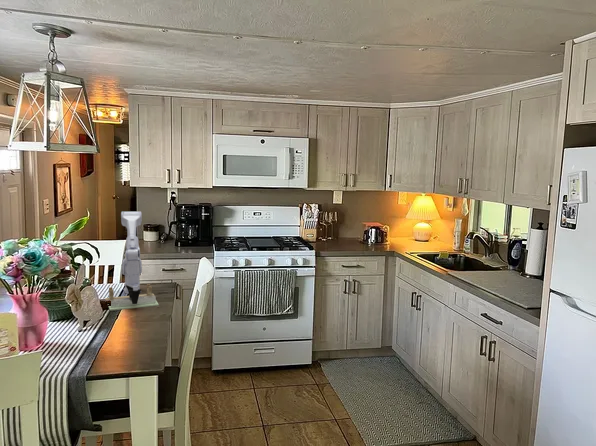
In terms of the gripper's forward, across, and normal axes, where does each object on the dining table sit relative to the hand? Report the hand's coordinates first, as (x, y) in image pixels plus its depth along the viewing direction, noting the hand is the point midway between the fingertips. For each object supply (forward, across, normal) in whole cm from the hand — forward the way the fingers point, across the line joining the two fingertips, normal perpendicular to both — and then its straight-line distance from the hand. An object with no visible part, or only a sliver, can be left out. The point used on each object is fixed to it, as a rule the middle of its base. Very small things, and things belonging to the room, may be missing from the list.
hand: (133, 301), depth 229 cm
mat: (+2, 0, 0) cm, 2 cm away
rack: (+2, -10, 0) cm, 10 cm away
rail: (+1, 0, 0) cm, 1 cm away
